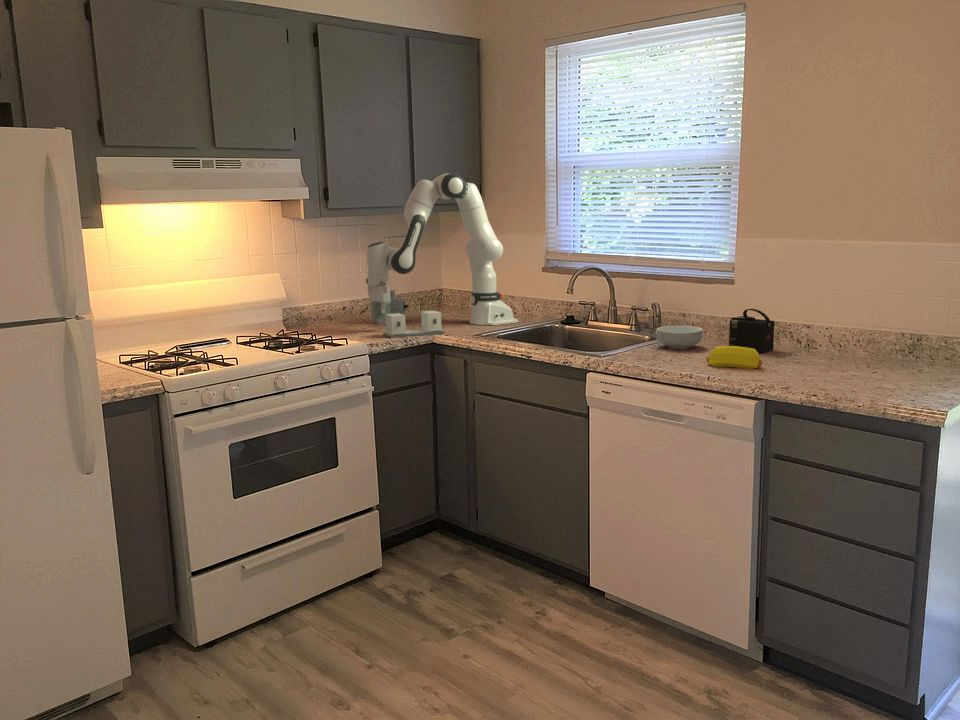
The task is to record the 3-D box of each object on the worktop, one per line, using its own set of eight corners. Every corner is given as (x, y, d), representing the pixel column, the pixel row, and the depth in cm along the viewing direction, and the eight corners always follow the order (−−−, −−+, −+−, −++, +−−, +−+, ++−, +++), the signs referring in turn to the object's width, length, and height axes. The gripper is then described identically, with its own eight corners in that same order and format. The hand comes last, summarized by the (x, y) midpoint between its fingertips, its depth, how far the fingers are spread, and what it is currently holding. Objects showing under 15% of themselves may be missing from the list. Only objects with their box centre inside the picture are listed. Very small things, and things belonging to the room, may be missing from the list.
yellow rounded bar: (760, 371, 263) (764, 366, 270) (761, 350, 262) (765, 346, 269) (703, 367, 271) (708, 362, 278) (704, 347, 270) (709, 343, 277)
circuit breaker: (407, 324, 379) (406, 291, 376) (376, 324, 379) (375, 292, 376) (409, 321, 386) (408, 289, 383) (378, 322, 387) (377, 290, 384)
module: (386, 317, 362) (385, 299, 360) (390, 318, 357) (389, 301, 356) (371, 318, 359) (370, 301, 357) (375, 320, 354) (373, 302, 353)
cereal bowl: (651, 344, 315) (651, 325, 314) (693, 343, 316) (694, 324, 315) (663, 352, 299) (663, 332, 297) (708, 350, 299) (709, 331, 298)
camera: (741, 345, 308) (743, 306, 306) (776, 350, 298) (778, 309, 295) (725, 349, 301) (727, 308, 298) (761, 354, 291) (763, 312, 288)
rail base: (436, 330, 358) (435, 310, 356) (444, 333, 349) (444, 312, 347) (383, 335, 348) (382, 314, 346) (390, 338, 339) (389, 316, 337)
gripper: (393, 281, 347) (395, 314, 349) (378, 278, 365) (380, 309, 368) (378, 282, 344) (380, 315, 347) (364, 279, 362) (366, 310, 365)
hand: (380, 312), depth 357 cm, fingers closed on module, 5 cm apart
